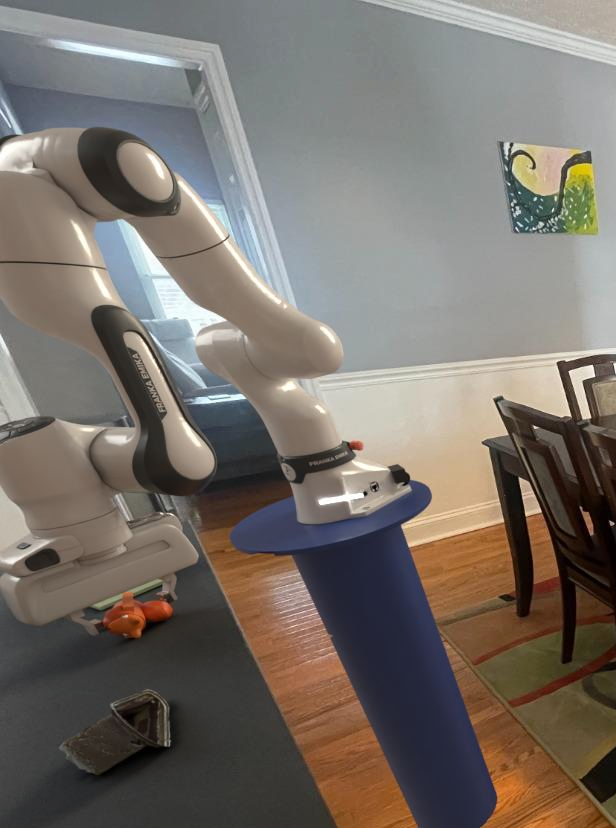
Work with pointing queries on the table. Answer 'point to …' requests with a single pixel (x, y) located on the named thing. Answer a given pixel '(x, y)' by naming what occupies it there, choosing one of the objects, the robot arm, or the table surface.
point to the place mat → (135, 591)
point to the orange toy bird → (134, 615)
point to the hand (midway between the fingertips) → (135, 616)
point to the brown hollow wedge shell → (121, 733)
